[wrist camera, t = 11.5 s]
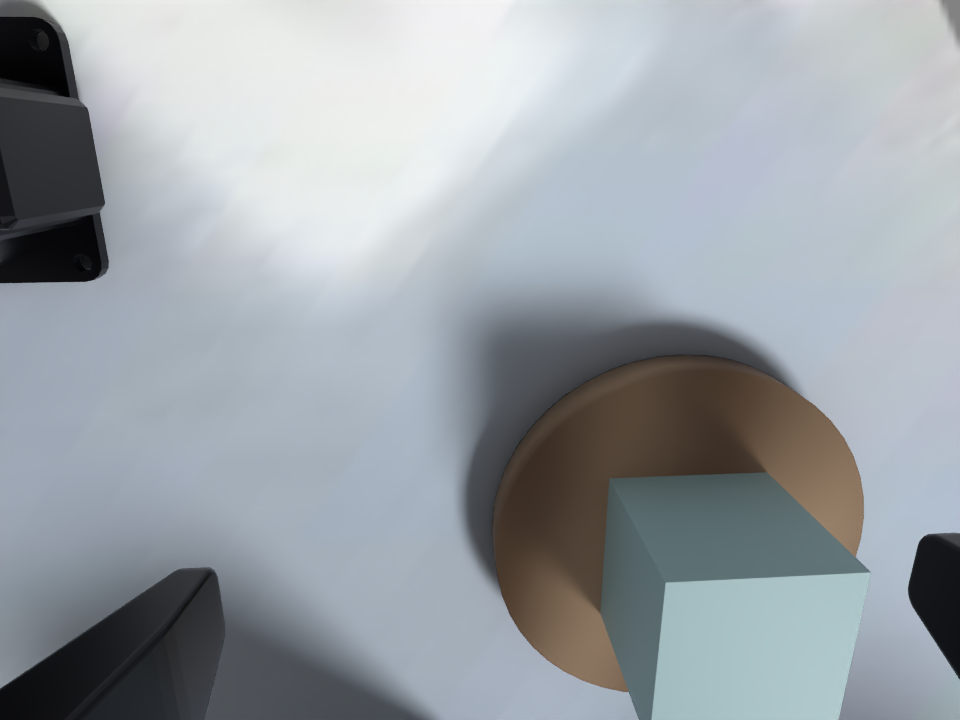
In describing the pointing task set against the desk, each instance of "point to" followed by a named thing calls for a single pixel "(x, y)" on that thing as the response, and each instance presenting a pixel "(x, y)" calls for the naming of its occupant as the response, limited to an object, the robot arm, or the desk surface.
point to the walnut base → (647, 453)
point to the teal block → (727, 600)
